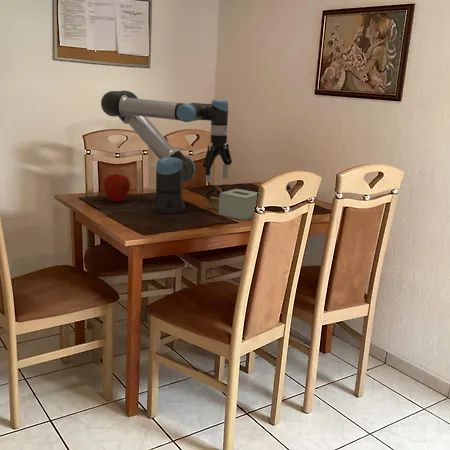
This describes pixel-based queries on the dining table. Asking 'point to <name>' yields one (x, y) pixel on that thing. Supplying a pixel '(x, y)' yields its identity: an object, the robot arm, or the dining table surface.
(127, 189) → the apple
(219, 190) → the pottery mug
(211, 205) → the beige flat block
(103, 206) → the dining table surface
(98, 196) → the dining table surface
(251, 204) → the coin box
